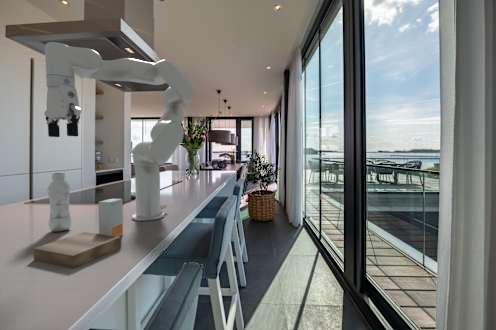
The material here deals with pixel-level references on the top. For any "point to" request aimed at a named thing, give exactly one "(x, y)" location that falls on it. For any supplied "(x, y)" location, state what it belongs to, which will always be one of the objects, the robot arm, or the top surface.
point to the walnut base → (77, 249)
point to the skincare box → (111, 217)
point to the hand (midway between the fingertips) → (63, 136)
